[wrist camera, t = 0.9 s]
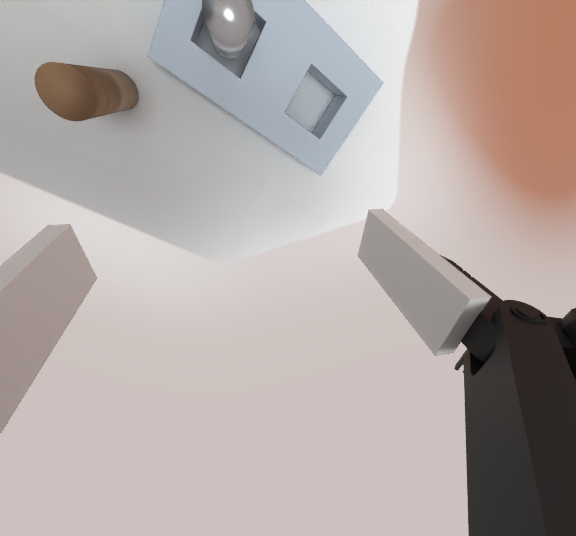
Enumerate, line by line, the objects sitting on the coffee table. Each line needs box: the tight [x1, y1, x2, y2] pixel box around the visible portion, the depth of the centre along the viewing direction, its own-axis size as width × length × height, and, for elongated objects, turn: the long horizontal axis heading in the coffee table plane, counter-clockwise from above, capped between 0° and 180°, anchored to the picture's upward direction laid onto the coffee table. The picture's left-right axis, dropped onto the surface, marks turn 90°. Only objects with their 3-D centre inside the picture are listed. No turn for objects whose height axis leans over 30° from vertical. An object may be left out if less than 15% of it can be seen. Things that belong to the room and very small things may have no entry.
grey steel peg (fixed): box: [202, 0, 254, 59], centre depth 19 cm, size 3×3×10 cm
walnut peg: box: [35, 62, 138, 121], centre depth 20 cm, size 3×3×10 cm
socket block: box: [148, 0, 383, 175], centre depth 24 cm, size 18×10×4 cm, turn 57°
